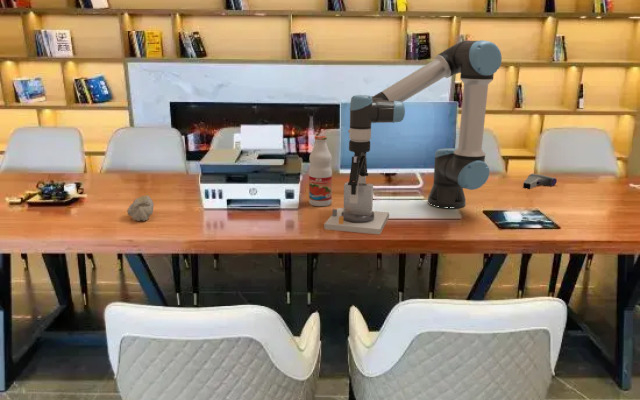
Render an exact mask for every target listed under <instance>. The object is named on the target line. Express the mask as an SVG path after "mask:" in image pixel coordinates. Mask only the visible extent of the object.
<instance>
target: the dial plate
mask: <svg viewBox="0 0 640 400" xmlns="http://www.w3.org/2000/svg"><path fill="white" fill-rule="evenodd" d="M331 210H332V212H331V213H332V214H331V216H330V217H329V218H328V219H327V220H326V221H325V222H324V224H323V226H324V227H323V228H324V230H329V231H340V232H349V233H359V234H369V235H370V234H371V235H381V233H382V231H383V230H384V228H385V226H386V223H387V222H388V221H389V220H388V219H389V218H390V212H388V211H387V212H386V211H377V210H372V211H373V212H374V219H373V220H371V221H368V222H350V221H346V220H344V216H342V210H344V207H343V208H342V207H338V208H332V209H331Z"/></svg>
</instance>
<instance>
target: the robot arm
mask: <svg viewBox="0 0 640 400" xmlns="http://www.w3.org/2000/svg"><path fill="white" fill-rule="evenodd" d="M502 62H503V61H502V52H501V50H500V48H499V47H498V45H496V43H495V42H492V41H489V40H483V39H482V40H481V39H480V40H462V41H460V42H458V43H455V44H453V45H452V46H450V47H448V48H447V49H445V50H443V51H442V52H441V51H440V53H438V54H436V55H435V58H434V59H433V60H432V61H430V62H428V63H427V64H425V65H424V66H422V67H420V68H418V69H417V70H415V71H413V72H412V73H410V74H408V75H407V76H405V77H403V78H402V79H399V81H396V82H395V83H394V84H392V85H390V86H388V87H387V88H385V89H383V90H382V91H380V92H378V93H376V94H375V95H373V96H372V95H367V94H356V95H353V96H351V98H350V104H349V129H348V130H347V132H348V133H349V136H348V137H349V139H350V140H349V141H348V150H349V151H350V152H352V153H354V154H353V156H351V165H350V172H349V173H350V174H349V180H348V182H349V183H348V185H350V203H358V183H365V184H367V177H368V176H369V173H368V165H367V163H368V162H367V153H369V152H370V151H371V137H372V124H376V123H377V124H379V123H383V124H384V123H387V124H388V123H389V124H390V123H393V124H394V123H400V122H402V121H403V120H404V118H405V114H406V109H405V104H404V102H405V101H407V100H408V99H411V98H412V97H414V96H415V95H417V94H419V93H420V92H422V91H423V90H425V89H427V88H429V87H430V86H431V85H434V84H435V83H437V82H438V81H440V80H442V79H443V78H446V79H448V78H451V77H452V76H454V75H457V74H460V76H459V77H460V78H459V80H460V81H462V83H463V92H462V103H461V112H460V113H461V114H460V124H459V135H458V145H457V148H455V147H454V148H449V147H448V148H447V147H446V148H439V149H437V150H436V151H435V154H434V168H433V182H432V183H433V184H432V187H431V189H430V192H429V194H428V197H427V203H428V202H429V203H430V204H432V205H435V206H439V207H448V208H450V207H455V208H454V209H460V208H464V207H465V206H466V195H465V192H464V189H467V190H470V191H472V190H477V189H480V188H482V187H483V186H484V185H485V184H486V182H487V181H488V180H489V176H490V167H489V166H488V164H487V163H486V162H485V161H486V153H485V151H484V150H483V141H484V140H483V139H484V131H485V122H486V121H485V120H486V119H485V118H486V108H487V99H488V91H489V84H490V83H491V82H492V81H494V76H495V74H496V72H498V70H499V69H500V67H501V65H502ZM429 203H428V204H429ZM430 204H429V205H430ZM432 205H431V206H432ZM435 206H434V207H435ZM439 207H438V208H439ZM448 208H447V209H448Z"/></svg>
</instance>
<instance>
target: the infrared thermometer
mask: <svg viewBox="0 0 640 400" xmlns="http://www.w3.org/2000/svg"><path fill="white" fill-rule="evenodd" d="M557 182H558V181H557V178H556V177H552V176H549V175H545V174H540V173H539V174H537V173H530V174H529V175H528V176H527V177H526V179H525V180H524V181H523V182H522V183H523V185H522V189H526V188H527V190H531V189H533V188H536V186H539V185H540V186H547V187H548V186H549V187H554V186H556V183H557ZM530 188H531V189H530Z"/></svg>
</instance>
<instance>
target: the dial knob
mask: <svg viewBox="0 0 640 400" xmlns="http://www.w3.org/2000/svg"><path fill="white" fill-rule="evenodd" d="M348 183H349V181H346V182H345V183H344V184H343V208H344V210H342V216H344V220H346V221H350V222H368V221H371V220H373V219H374V212H373V211H374V210H373V204H374V203H373V202H374V201H373V200H374V184H373V183H366V184H365V183H358V203H350V185H348Z"/></svg>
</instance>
